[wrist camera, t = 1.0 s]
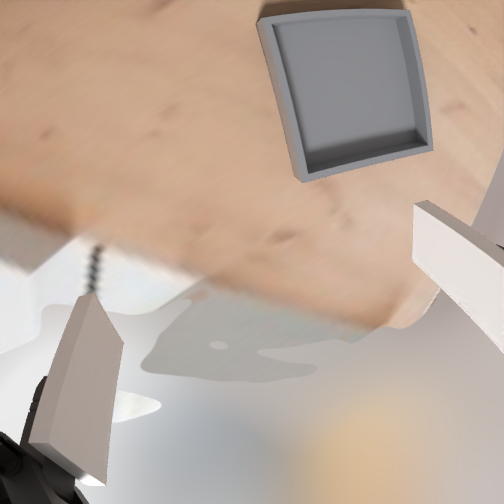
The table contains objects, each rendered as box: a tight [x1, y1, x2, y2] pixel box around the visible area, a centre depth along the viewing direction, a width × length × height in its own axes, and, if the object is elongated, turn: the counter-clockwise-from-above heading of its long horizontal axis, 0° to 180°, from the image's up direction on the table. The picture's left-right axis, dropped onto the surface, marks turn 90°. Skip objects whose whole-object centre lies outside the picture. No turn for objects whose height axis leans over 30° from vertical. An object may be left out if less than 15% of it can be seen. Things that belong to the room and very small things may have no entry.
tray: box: [256, 9, 433, 183], centre depth 30 cm, size 18×18×3 cm
